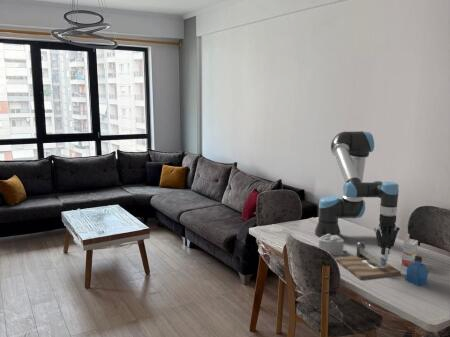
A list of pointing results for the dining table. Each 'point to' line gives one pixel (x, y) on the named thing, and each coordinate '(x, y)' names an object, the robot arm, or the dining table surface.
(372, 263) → the label board
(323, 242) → the lumpy-topped squat cylinder
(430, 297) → the dining table surface
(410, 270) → the perfume bottle
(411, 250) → the ink cartridge box
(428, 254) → the dining table surface
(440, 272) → the dining table surface
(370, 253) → the swing bar
